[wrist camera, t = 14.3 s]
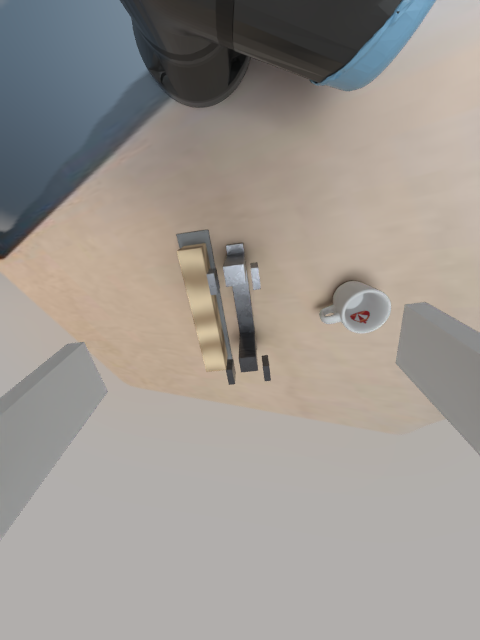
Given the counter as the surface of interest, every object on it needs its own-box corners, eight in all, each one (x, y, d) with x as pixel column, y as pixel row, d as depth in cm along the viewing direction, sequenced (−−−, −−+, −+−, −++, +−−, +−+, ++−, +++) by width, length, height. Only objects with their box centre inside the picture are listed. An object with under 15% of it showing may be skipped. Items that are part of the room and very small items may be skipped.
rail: (183, 246, 44) (176, 251, 40) (205, 242, 44) (200, 247, 39) (209, 357, 54) (206, 371, 50) (227, 355, 54) (225, 369, 50)
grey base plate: (177, 234, 44) (176, 234, 43) (208, 229, 43) (207, 229, 43) (208, 364, 56) (207, 365, 55) (232, 361, 55) (232, 362, 55)
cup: (319, 324, 51) (331, 345, 44) (308, 290, 48) (319, 306, 40) (373, 306, 49) (395, 324, 41) (365, 269, 46) (387, 282, 38)
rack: (215, 246, 44) (204, 263, 33) (254, 241, 44) (256, 256, 32) (233, 349, 54) (230, 391, 42) (266, 346, 53) (271, 387, 42)
